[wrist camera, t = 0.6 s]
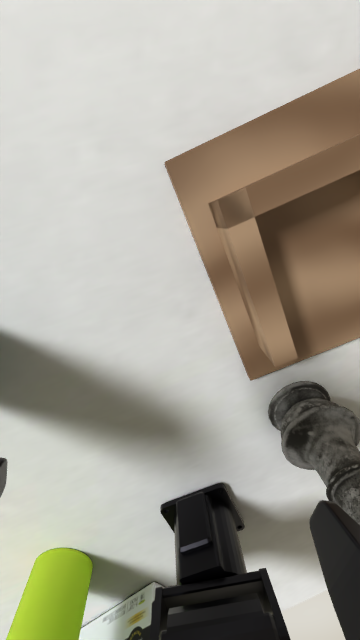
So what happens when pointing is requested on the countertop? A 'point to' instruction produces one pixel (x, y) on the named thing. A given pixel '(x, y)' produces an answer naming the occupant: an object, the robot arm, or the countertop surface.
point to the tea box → (124, 619)
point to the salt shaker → (320, 440)
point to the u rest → (281, 225)
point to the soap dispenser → (54, 597)
